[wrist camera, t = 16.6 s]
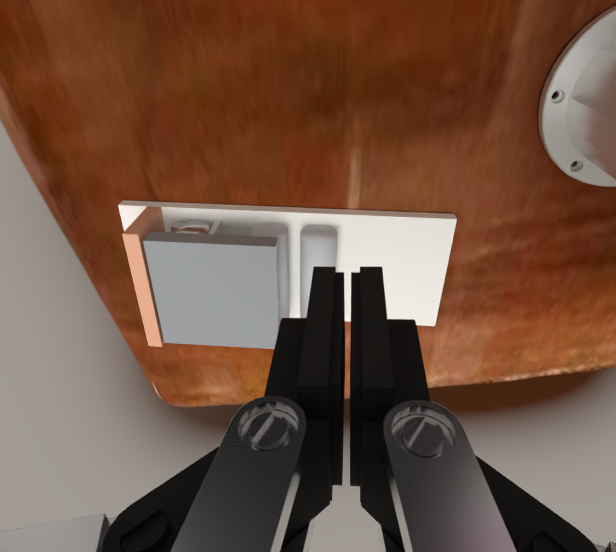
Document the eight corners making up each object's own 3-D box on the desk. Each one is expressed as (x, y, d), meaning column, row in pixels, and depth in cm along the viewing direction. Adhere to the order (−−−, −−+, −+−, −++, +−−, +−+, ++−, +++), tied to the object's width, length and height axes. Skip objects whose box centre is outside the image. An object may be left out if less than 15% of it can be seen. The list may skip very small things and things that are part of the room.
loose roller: (206, 216, 39) (211, 232, 36) (217, 302, 44) (222, 320, 41) (169, 221, 38) (172, 237, 36) (185, 308, 43) (188, 327, 40)
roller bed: (454, 213, 38) (470, 249, 32) (433, 319, 43) (444, 363, 38) (123, 200, 39) (89, 232, 34) (146, 303, 45) (120, 344, 40)
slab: (278, 237, 35) (275, 246, 34) (281, 337, 40) (278, 349, 39) (150, 231, 35) (143, 240, 34) (170, 331, 41) (164, 342, 40)
